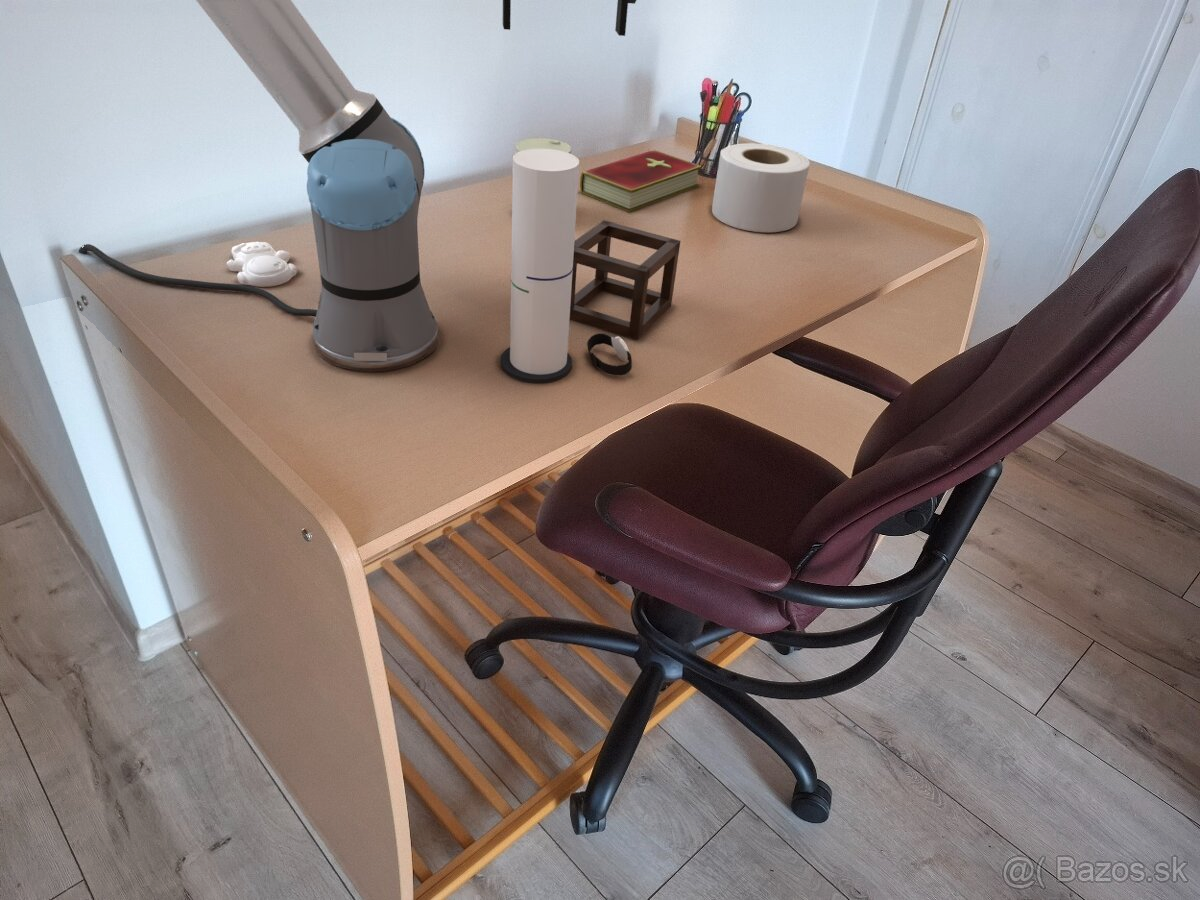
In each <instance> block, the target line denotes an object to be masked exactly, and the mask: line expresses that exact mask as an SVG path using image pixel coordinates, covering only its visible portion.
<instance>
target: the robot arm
mask: <svg viewBox="0 0 1200 900" xmlns="http://www.w3.org/2000/svg"><path fill="white" fill-rule="evenodd" d="M195 1H196V3H197V4H198V5H199V7H200V8H201V9H202V10H203V11H204V13H205V14H206V15H207V16H208V18H209V19H210V20H211V22H212V23H213V24H214V25H215V26H216V28H217V30H219V32H220V33H221V34H222V36H223V37H224V38H225V39H226V41H227V42H228V43H229V44H230V46H231V47H232V48H233V50H234V51H235V52H236V53H237V55H238V56H239V57H240V58H241V60H242V62H244V63H245V65H246V66H247V68H249V70H250V71H251V72H252V73H253V75H254V76H255V77H256V78H257V80H258V81H259V82H260V84H261V85H262V86H263V87H264V89H265V90H266V91H267V93H268V94H269V95H270V96H271V98H272V99H273V100H274V101H275V103H276V104H277V105H278V106H279V108H280V109H281V111H282V112H283V113H284V114H285V115H286V117H287V118H288V119H289V120H290V122H291V123H292V124H293V126H294V127H295V128H296V129H297V131H298V136H299V138H298V152H299V153H300V154H301V155H302V157H303V158H304V159H305V160H306V162H307V163H308V166H307V169H306V171H307V172H306V175H307V179H306V193H307V196H308V201H309V203H310V204H309V205H310V211H311V217H312V224H313V231H314V239H315V246H316V253H317V261H318V268H319V274H320V283H321V291H320V295H319V300H318V304H317V309H314V308H296V307H293V306H291V305H288V304H286V303H285V302H283V301H282V300H280V298H278V297H277V296H275V295H274V294H272V293H271V292H270V291H267V290H264V289H262V288H260V287H256V286H252V285H244V284H237V283H236V284H235V283H225V282H224V283H221V282H211V281H202V280H193V279H185V278H176V277H175V278H174V277H167V276H161V275H155V274H151V273H147V272H144V271H140V270H137V269H134V268H133V267H131V266H128V265H126V264H124V263H123V262H121V261H119V260H117V259H115V258H113V257H110V256H109V255H107V253H104V252H103V251H102V250H101V249H99V248H98V247H96V246H94V245H93V244H90V243H86V245H85V244H83V245H84V247H83V248H82V247H81V246H80V247H79V249H78V254H86V253H87V252H90V253H92V254H94V255H95V256H96V257H98V258H99V259H100V260H101V261H103V262H105V263H106V264H108V265H110V266H112V267H115V268H116V269H118V270H119V271H121V272H124V273H126V274H128V275H130V276H131V277H135V278H138V279H140V280H144V281H148V282H152V283H156V284H163V285H169V286H177V287H186V288H187V287H188V288H197V289H204V290H215V291H226V292H227V291H229V292H238V293H239V292H240V293H245V294H251V295H255V296H260V297H262V298H263V299H265V300H267V301H269V302H270V303H272V304H273V305H275V307H277V308H278V309H280V310H281V311H282V312H284V313H287V314H289V315H292V316H296V317H297V316H298V317H315V319H314V322H313V327H312V338H313V343H314V349H315V351H316V353H317V354H318V355H319V356H320V357H321V358H322V359H323V360H324V361H326V362H328V363H329V364H332V365H334V366H337V367H340V368H342V369H343V368H344V369H347V370H352V371H359V372H385V371H392V370H393V371H394V370H398V369H401V368H404V367H408V366H411V365H414V364H416V363H419V362H420V361H422V360H423V359H425V358H426V357H427V358H428V356H430V355H431V353H432V352H434V350H435V349H436V347H437V346H438V342H439V330H438V321H437V320H436V317H435V315H434V313H433V312H432V310H431V309H430V305H429V302H428V300H427V296H426V294H425V291H424V289H423V286H422V283H421V270H420V251H419V250H420V249H419V234H418V233H419V230H418V218H419V217H418V216H419V209H420V201H421V197H422V196H421V195H422V190H423V187H424V180H425V173H426V172H425V162H424V157H423V154H422V150H421V148H420V146H419V143H418V142H417V139H416V138H415V136H414V135H413V133H412V132H411V130H409V129H408V128H407V127H406V126H405V125H404V124H402V122H400V121H399V120H397V119H395V118H394V117H391V116H390V114H389V113H388V112H387V110H386V108H384V106H383V105H382V103H381V102H380V100H379V99H378V98H377V97H376V96H375V94H373V93H369V92H365V91H360V90H358V89H356V88H355V87H354V85H353V84H352V83H351V81H350V80H349V78H348V77H347V75H346V74H345V72H344V71H343V70H342V68H341V67H340V66H339V65H338V63H337V62H336V60H335V59H334V58H333V56H332V55H331V54H330V52H329V50H328V49H327V48H326V46H325V45H324V43H323V42H322V41H321V39H320V38H319V37H318V36H317V34H316V32H315V31H314V29H313V28H312V27H311V25H310V24H309V23H308V21H307V19H305V17H304V16H303V15H302V13H301V12H300V11H299V9H298V8H297V6H296V5H295V3H294V2H293V1H292V0H195ZM511 1H512V0H502V27H503V30H508V31H511V11H512V10H511V5H512V4H511V3H512V2H511ZM636 2H637V0H617V3H616V4H617V5H616V17H615V27H614V28H615V29H614V30H615V32H616V34H617V35H618V36H619V37H621V36H623V37H626V30H627V19H628V8H629V4H633V5H634V4H636Z"/></svg>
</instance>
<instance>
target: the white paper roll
mask: <svg viewBox="0 0 1200 900" xmlns="http://www.w3.org/2000/svg"><path fill="white" fill-rule="evenodd" d="M810 165H811V163H810V160H809V159H808V158H807V157H806V156H805V155H804V154H802V153H800V152H798V151H796V150H793V149H789V148H787V147H783V146H779V145H774V144H766V143H751V142H749V143H747V142H745V143H736V144H731V145H728V146H726V147H723V148H722V149H720V154H719V160H718V166H717V173H716V177H715V186H714V192H713V199H712V205H711V212H712V215H713V217H715V219H717V220H718V221H719V222H721V223H723V224H724V225H727V226H730V227H732V228H735V229H739V230H742V231H747V232H755V233H778V232H784V231H789V230H791V229H793V228H794V227H795V226H797V224H798V220H799V216H800V211H801V207H802V202H803V197H804V193H805V187H806V183H807V179H808V173H809V169H810Z"/></svg>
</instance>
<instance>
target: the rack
mask: <svg viewBox="0 0 1200 900" xmlns="http://www.w3.org/2000/svg"><path fill="white" fill-rule="evenodd" d="M612 239H615V240H619V241H623V242H627V243H630V244H634V245H638V246H641V247H645V248H648V249H652V250H656V251H655V252H653V254H651V255H650V256H649V257H648V258H647V259H646V260H645V261H643V262H642V263H641V264H637V263H634V262H630V261H627V260H623V259H620V258H616V257H613V256H610V254H611V243H612ZM596 245H597V247H596V248H597V250H596V251H591V249H592V248H594V247H595V246H596ZM680 249H681V240H679V239H675V238H671V237H667V236H664V235H660V234H657V233H652V232H650V231H646V230H642V229H638V228H635V227H630V226H626V225H624V224H620V223H615V222H612V221H609V220H605V219H604V220H602V221H600V222H599V223H598V224H596V225H595V226H594V227H592V228H591V229H589V230H588V231H587V232H585V233H584V234H582V235H580V236H579V237H577V238H576V239H574V255H573V268H572V269H573V271H572V287H571V303H570V319H569V320H572V321H574V322H578V323H580V324H584V325H587V326H591V327H594V328H597V329H600V330H603V331H606V332H610V333H613V334H616V335H618V336H622V337H626V338H629V339H632V340H635V341H639V339H641V337H642V336H643V335H644V334H645V333H646V332H647V331H648V330H649V329H650V328H651V327H652V326H653V325H654V324H655V323H656V322H657V321H658V320H659V319H661V317H662V316H663V315H664V314H665V313H666V312H667V311H668V310H669V309H670V308H671V307H672V303H673V295H674V289H675V283H676V275H677V269H678V262H679V254H680ZM578 265H581V266H584V267H588V268H591V269H595V275H594V278H593V279H592V280H590V281H589V282H588V283H587V284H586V285H585V286H583V287H582V288H581V289H579V290H578V291H577V292H576V284H577V271H578ZM661 268H663V271H662V273H663V274H662V280H661V287H660V291H655V290H653V289H648V287H649V286H648V285H649V279H651V278H652V277H653V276H654V275H655V274H656V273H657V272H658V271H659V270H660V269H661ZM609 274H612V275H615V276H618V277H622V278H626V279H628V280H632V281H634V282H633V284H632V283H628V282H625V281H622V280H618V279H615V278H612V277H609V276H608V275H609ZM602 291H604V292H607V293H610V294H613V295H616V296H620V297H623V298H627V299H631V300H632V301H631V309H630V317H629V318H630V319H629V321H628V320H625V319H622V318H618V317H615V316H612V315H609V314H607V313H602V312H600V311H596V310H592V309H590V308H587V307H585V306H587V304H588V303H590V302H591V301H593V299H594V298H595V297H597V296H598V295H599V294H600V293H601V292H602ZM646 305H650V307H648V308H647V309H646Z"/></svg>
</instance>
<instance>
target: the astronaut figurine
mask: <svg viewBox="0 0 1200 900" xmlns="http://www.w3.org/2000/svg"><path fill="white" fill-rule="evenodd" d="M231 255H232V258H233V259H232V258H231V259H229V260H228V261H227V262H226V267H227V268H228V270H229V271H231V272H237V276H236V278H237V281H238V283H239V284H240V285H245V286H251V287H257V288H260V287H261V288H266V287H268V288H269V287H275V286H280V285H282V284H285V283H287V282H289V281H290V280H292V278H293V277H295V276H296V275H297V272H298V270H297V267H296V265H294V264H293V263H288V262H289V261H290V257H291V254H290V253H289V252H288V250H287V251H286V250H280V249H279V250H278V251H276V250H275V249H274V248H273V246H272V245H271V244H270V243H268V242H267V241H250V242H242V243H240V244H238V245H237V244H236V245H233V247H231Z"/></svg>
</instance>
